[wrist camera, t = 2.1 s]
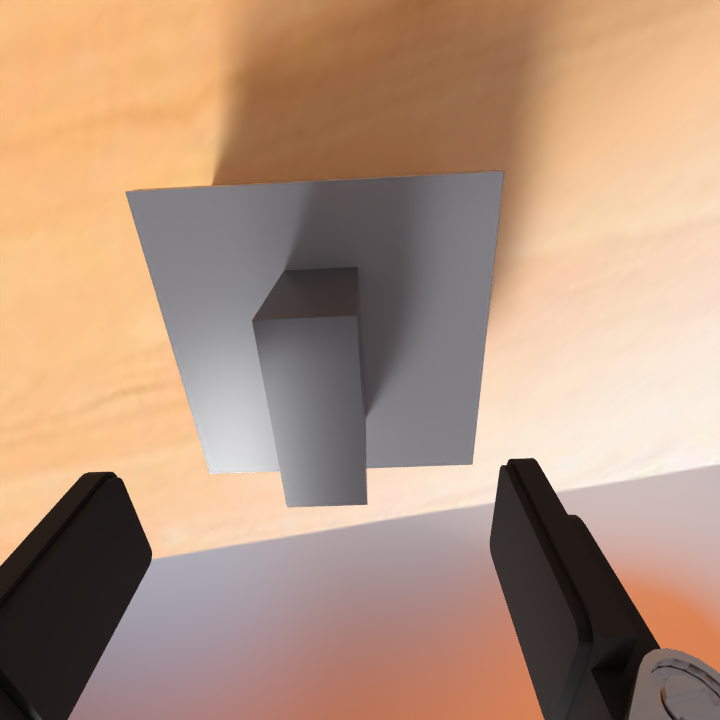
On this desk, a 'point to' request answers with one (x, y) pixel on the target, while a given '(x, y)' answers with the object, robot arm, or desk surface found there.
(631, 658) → the robot arm
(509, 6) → the desk surface
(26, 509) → the desk surface
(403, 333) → the lid
